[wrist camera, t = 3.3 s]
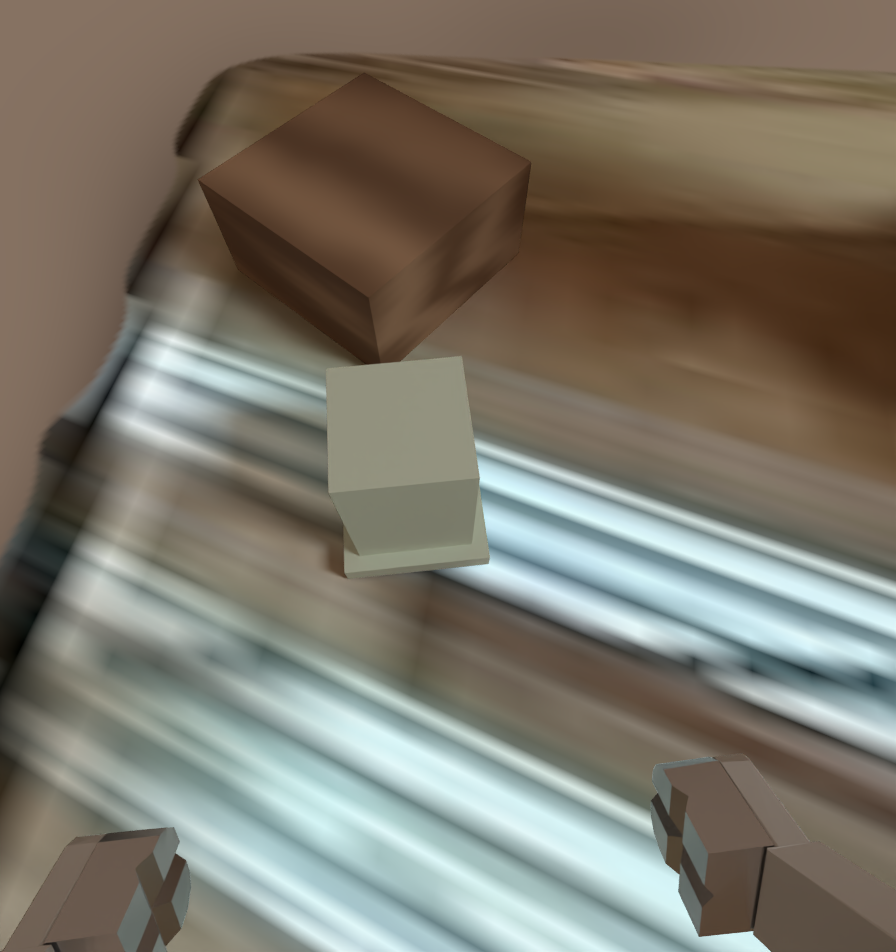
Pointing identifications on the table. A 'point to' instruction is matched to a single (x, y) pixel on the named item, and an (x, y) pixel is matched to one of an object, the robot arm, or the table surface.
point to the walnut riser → (371, 216)
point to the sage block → (404, 467)
